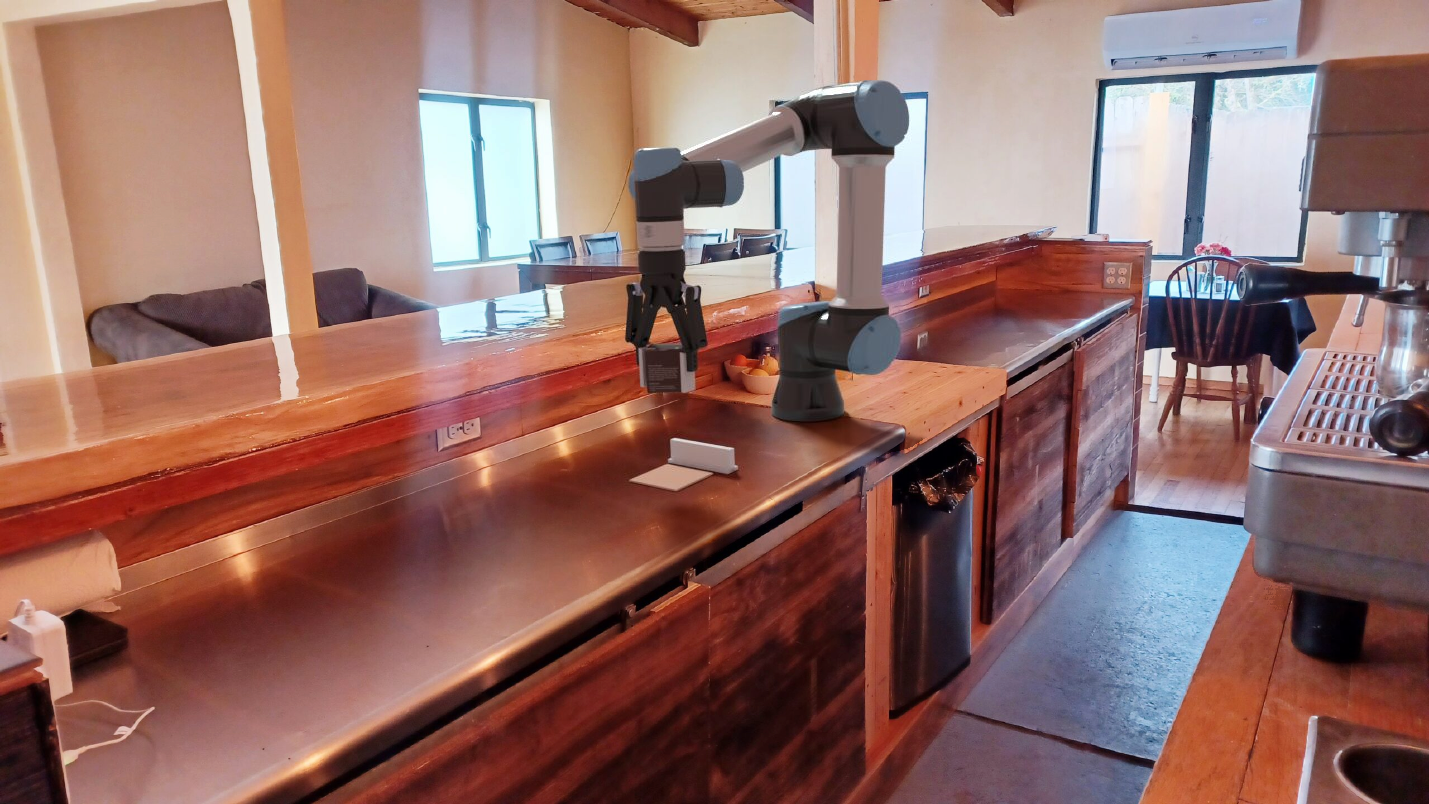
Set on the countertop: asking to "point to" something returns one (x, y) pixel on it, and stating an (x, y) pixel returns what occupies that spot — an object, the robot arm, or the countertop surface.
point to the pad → (671, 477)
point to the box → (663, 368)
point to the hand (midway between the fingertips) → (667, 388)
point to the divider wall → (702, 456)
